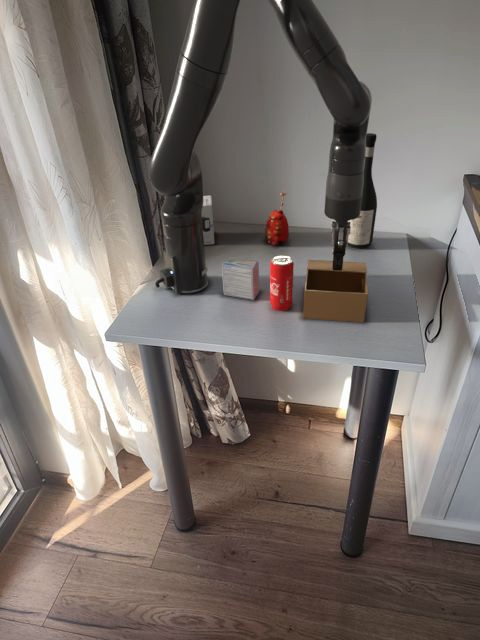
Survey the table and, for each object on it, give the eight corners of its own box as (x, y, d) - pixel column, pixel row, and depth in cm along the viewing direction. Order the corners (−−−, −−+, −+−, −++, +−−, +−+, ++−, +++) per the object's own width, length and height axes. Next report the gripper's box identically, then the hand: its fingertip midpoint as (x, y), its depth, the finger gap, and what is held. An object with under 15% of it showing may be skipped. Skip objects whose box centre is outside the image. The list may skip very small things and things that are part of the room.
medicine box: (259, 292, 119) (259, 260, 113) (253, 301, 115) (252, 268, 110) (230, 287, 121) (228, 255, 115) (223, 295, 117) (221, 263, 112)
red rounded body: (261, 238, 144) (260, 188, 135) (282, 234, 146) (283, 185, 137) (272, 248, 138) (272, 197, 129) (293, 244, 141) (295, 193, 132)
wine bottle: (368, 251, 136) (383, 139, 118) (341, 247, 139) (351, 136, 121) (374, 240, 142) (389, 131, 124) (347, 236, 145) (358, 129, 126)
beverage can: (292, 312, 111) (294, 265, 104) (270, 312, 111) (270, 265, 104) (291, 300, 115) (293, 254, 108) (270, 300, 115) (270, 254, 108)
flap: (308, 260, 115) (308, 259, 115) (365, 263, 113) (365, 262, 113) (306, 269, 109) (306, 268, 109) (367, 273, 108) (367, 271, 108)
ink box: (198, 233, 147) (194, 195, 140) (214, 232, 148) (211, 194, 141) (198, 245, 140) (194, 206, 133) (214, 244, 141) (212, 205, 134)
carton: (306, 288, 120) (308, 262, 115) (361, 291, 118) (365, 265, 114) (303, 318, 109) (304, 290, 105) (363, 322, 107) (367, 294, 103)
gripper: (363, 204, 93) (354, 283, 103) (361, 182, 103) (353, 256, 114) (324, 203, 94) (319, 282, 104) (326, 181, 104) (321, 255, 115)
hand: (337, 268), depth 109 cm, fingers closed
